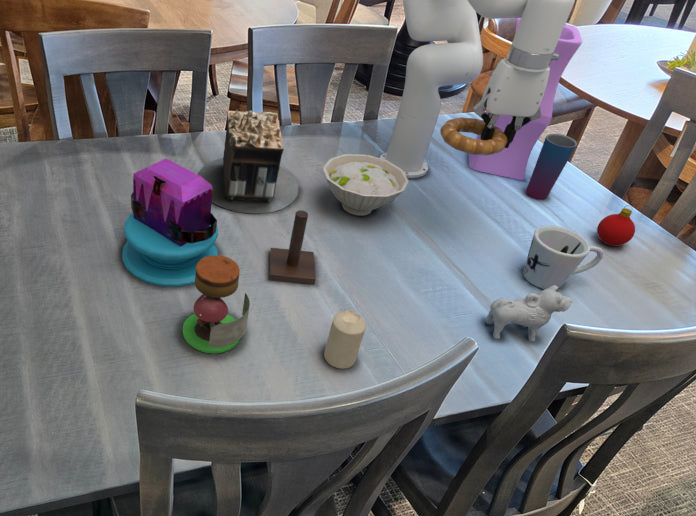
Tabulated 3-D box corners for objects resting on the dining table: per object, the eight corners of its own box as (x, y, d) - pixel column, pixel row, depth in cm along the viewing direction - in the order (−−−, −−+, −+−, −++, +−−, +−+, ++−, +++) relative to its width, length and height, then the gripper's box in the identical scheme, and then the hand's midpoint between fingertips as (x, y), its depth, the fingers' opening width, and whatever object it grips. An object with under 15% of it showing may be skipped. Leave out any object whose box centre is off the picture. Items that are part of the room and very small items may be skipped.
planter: (319, 195, 152) (334, 123, 140) (237, 225, 140) (245, 149, 128) (255, 151, 167) (263, 82, 155) (176, 174, 156) (179, 103, 144)
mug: (508, 261, 135) (526, 223, 129) (577, 265, 135) (598, 227, 129) (526, 293, 127) (546, 254, 121) (599, 297, 127) (623, 259, 121)
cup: (553, 203, 155) (580, 148, 145) (524, 199, 155) (549, 144, 146) (547, 189, 160) (573, 135, 150) (519, 185, 160) (543, 131, 151)
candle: (320, 346, 113) (331, 305, 106) (350, 345, 113) (362, 304, 107) (327, 369, 108) (339, 328, 102) (358, 368, 109) (372, 327, 102)
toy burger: (166, 346, 111) (168, 281, 101) (195, 303, 120) (199, 240, 110) (228, 369, 107) (237, 303, 98) (253, 323, 116) (263, 259, 107)
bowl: (300, 205, 148) (307, 168, 141) (344, 177, 159) (352, 141, 153) (371, 241, 138) (382, 202, 132) (413, 208, 150) (425, 171, 143)
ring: (433, 125, 137) (437, 112, 135) (493, 131, 137) (498, 118, 135) (446, 154, 127) (451, 141, 125) (511, 160, 127) (517, 147, 125)
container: (469, 146, 176) (516, 17, 153) (521, 156, 173) (577, 26, 150) (468, 169, 166) (519, 34, 143) (524, 180, 163) (584, 44, 140)
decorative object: (170, 300, 120) (173, 215, 107) (101, 254, 130) (97, 170, 117) (237, 256, 132) (247, 174, 119) (169, 217, 141) (172, 137, 129)
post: (269, 253, 133) (278, 198, 124) (312, 257, 133) (324, 203, 124) (269, 280, 126) (278, 224, 118) (314, 284, 126) (326, 229, 117)
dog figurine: (556, 343, 117) (582, 300, 110) (488, 339, 116) (510, 296, 109) (544, 323, 121) (569, 280, 114) (478, 319, 120) (499, 276, 113)
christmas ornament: (588, 243, 142) (609, 206, 136) (594, 229, 147) (615, 193, 140) (622, 256, 139) (645, 218, 133) (628, 241, 143) (650, 204, 137)
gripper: (565, 53, 123) (528, 139, 135) (479, 46, 123) (450, 132, 135) (580, 68, 117) (540, 156, 129) (490, 61, 118) (458, 149, 129)
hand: (494, 143), depth 132 cm, fingers closed on ring, 3 cm apart
